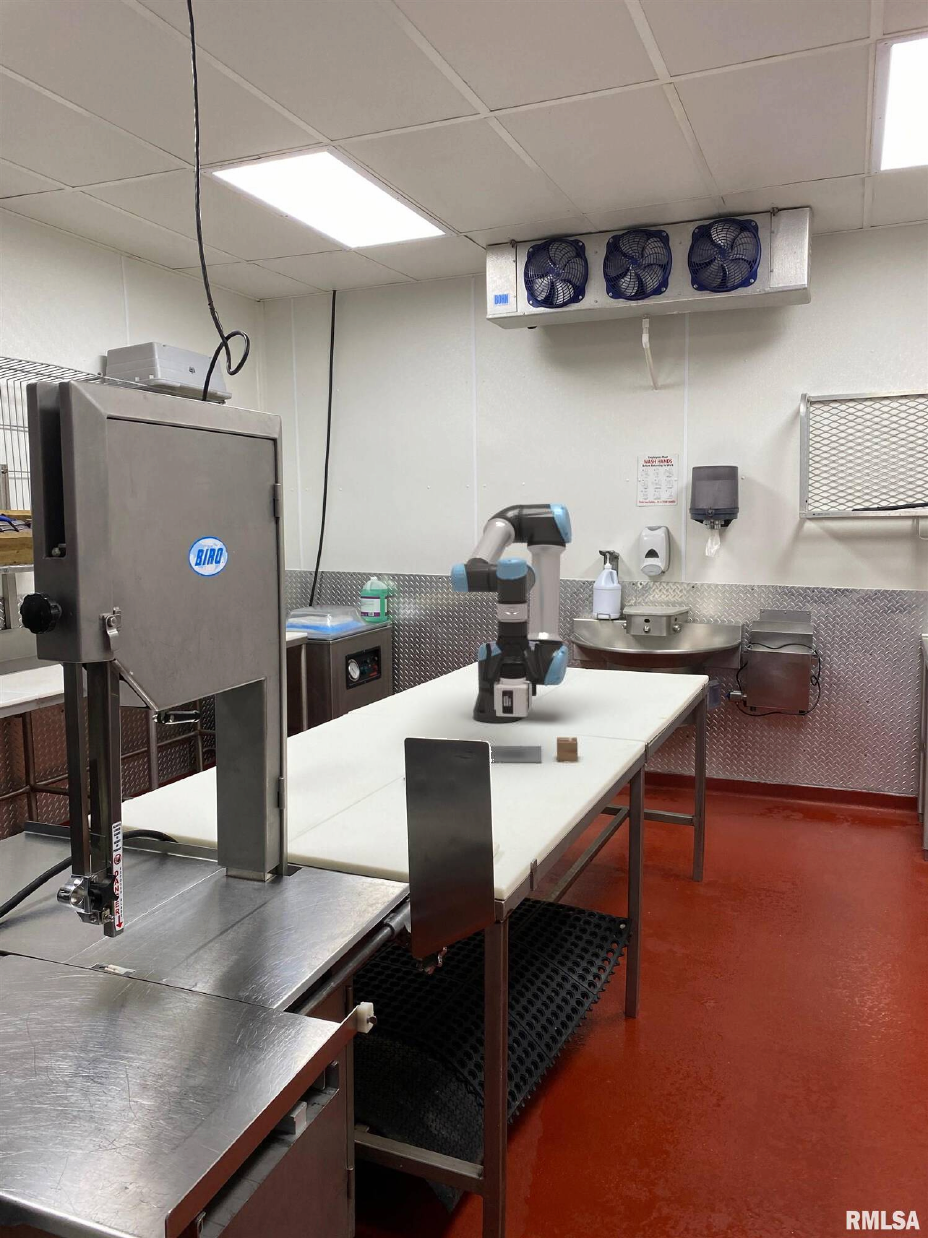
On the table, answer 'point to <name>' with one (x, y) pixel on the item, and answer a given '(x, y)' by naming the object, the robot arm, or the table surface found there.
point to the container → (512, 691)
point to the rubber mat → (516, 754)
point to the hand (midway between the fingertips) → (513, 708)
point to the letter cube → (567, 749)
